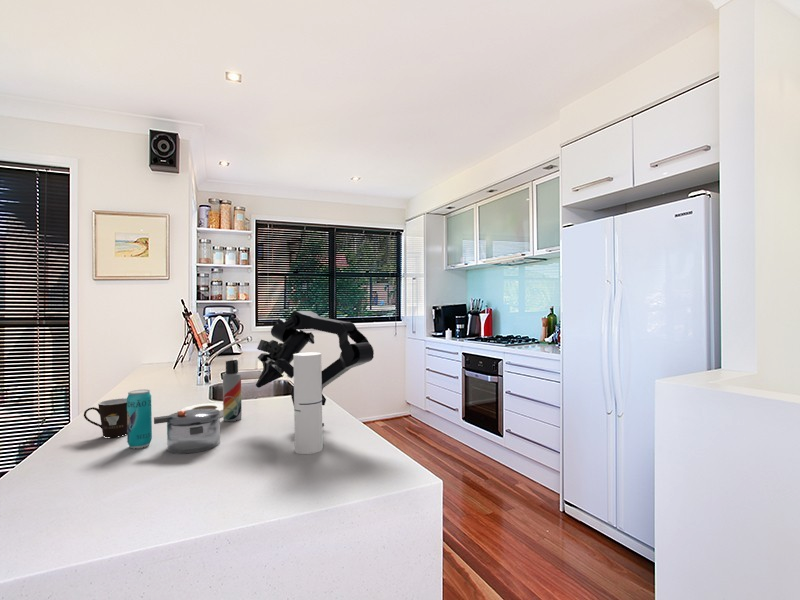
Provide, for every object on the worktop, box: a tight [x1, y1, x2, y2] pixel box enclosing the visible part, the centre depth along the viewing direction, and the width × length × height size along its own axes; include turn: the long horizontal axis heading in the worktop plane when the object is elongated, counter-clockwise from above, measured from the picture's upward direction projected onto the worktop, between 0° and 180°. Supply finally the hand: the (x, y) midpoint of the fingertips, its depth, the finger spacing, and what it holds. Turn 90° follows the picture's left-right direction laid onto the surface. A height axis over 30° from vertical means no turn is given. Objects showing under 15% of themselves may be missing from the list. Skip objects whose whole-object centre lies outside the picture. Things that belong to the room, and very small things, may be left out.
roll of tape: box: [179, 402, 223, 418], centre depth 152 cm, size 16×15×3 cm
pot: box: [166, 417, 221, 455], centre depth 119 cm, size 13×18×7 cm
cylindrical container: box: [292, 351, 324, 455], centre depth 114 cm, size 7×7×25 cm
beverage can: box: [126, 389, 153, 450], centre depth 119 cm, size 6×6×15 cm
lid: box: [153, 409, 221, 426], centre depth 118 cm, size 16×13×2 cm
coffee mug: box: [83, 397, 127, 438], centre depth 130 cm, size 12×9×10 cm
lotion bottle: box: [222, 359, 243, 422], centre depth 145 cm, size 6×6×20 cm
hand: (256, 386), depth 130 cm, fingers closed
